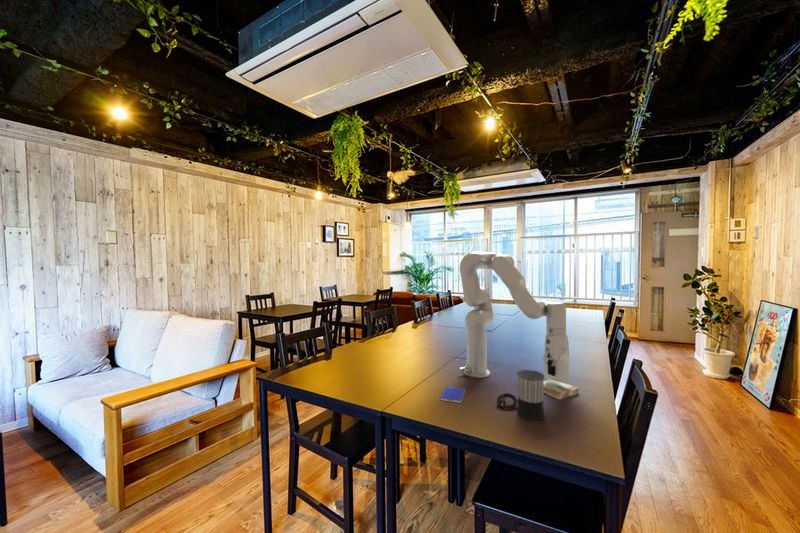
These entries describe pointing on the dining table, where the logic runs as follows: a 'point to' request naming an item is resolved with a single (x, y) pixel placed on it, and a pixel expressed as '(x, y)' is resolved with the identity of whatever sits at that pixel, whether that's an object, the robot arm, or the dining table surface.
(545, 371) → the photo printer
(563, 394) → the pedestal
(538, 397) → the milk frother
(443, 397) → the hard drive
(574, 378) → the dining table surface
